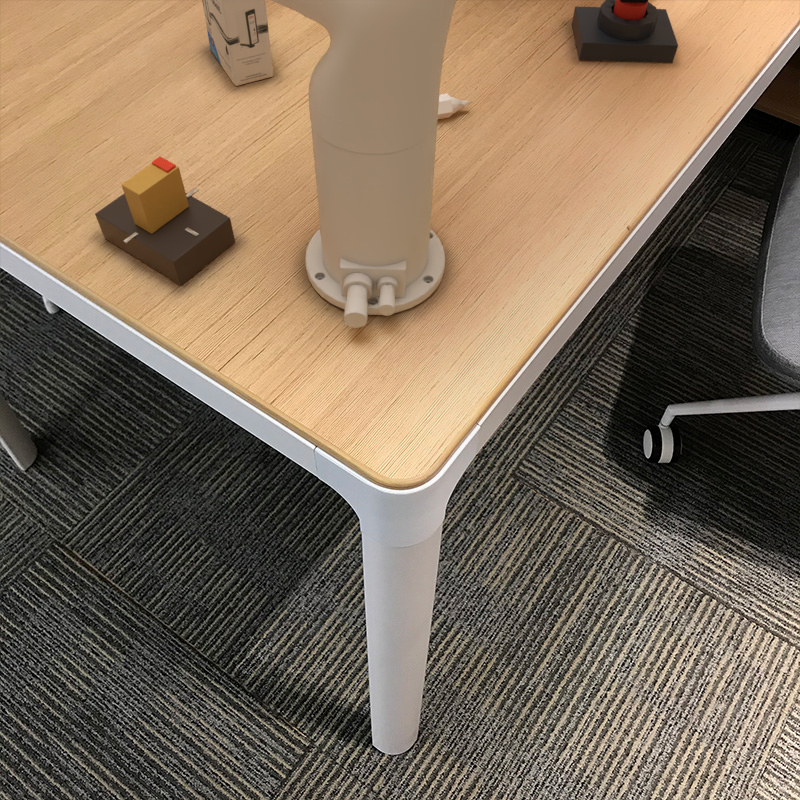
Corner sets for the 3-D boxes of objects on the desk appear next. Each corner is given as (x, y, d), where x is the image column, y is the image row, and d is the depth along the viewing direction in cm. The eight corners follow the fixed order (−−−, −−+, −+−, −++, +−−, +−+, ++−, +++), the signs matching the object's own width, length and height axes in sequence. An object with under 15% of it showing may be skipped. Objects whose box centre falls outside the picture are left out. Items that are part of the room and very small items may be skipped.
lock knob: (151, 234, 67) (138, 192, 63) (134, 224, 68) (119, 181, 64) (189, 206, 69) (178, 164, 66) (172, 196, 70) (160, 154, 66)
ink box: (209, 49, 90) (188, -58, 80) (249, 39, 91) (233, -67, 81) (234, 88, 85) (216, -21, 76) (276, 77, 87) (263, -31, 77)
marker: (471, 116, 84) (331, 141, 81) (466, 98, 84) (326, 122, 81) (478, 104, 82) (334, 130, 78) (473, 86, 82) (328, 110, 79)
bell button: (646, 22, 88) (650, 7, 87) (615, 21, 88) (619, 6, 87) (641, 6, 90) (645, -9, 89) (611, 5, 90) (614, -10, 89)
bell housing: (672, 63, 90) (683, 30, 87) (578, 60, 90) (586, 27, 86) (660, 26, 94) (670, -7, 91) (571, 23, 94) (578, -9, 91)
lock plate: (242, 237, 72) (237, 210, 69) (173, 292, 68) (165, 266, 65) (166, 193, 75) (158, 167, 72) (96, 244, 71) (85, 217, 68)
